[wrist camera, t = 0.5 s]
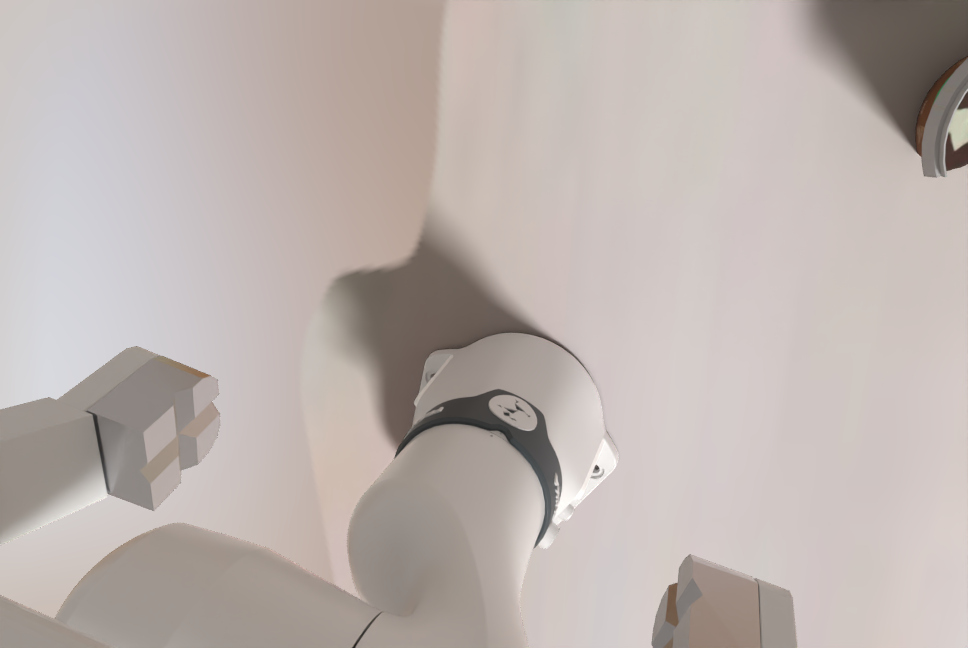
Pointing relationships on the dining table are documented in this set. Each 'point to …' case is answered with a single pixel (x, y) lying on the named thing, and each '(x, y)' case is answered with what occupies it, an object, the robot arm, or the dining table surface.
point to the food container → (944, 123)
